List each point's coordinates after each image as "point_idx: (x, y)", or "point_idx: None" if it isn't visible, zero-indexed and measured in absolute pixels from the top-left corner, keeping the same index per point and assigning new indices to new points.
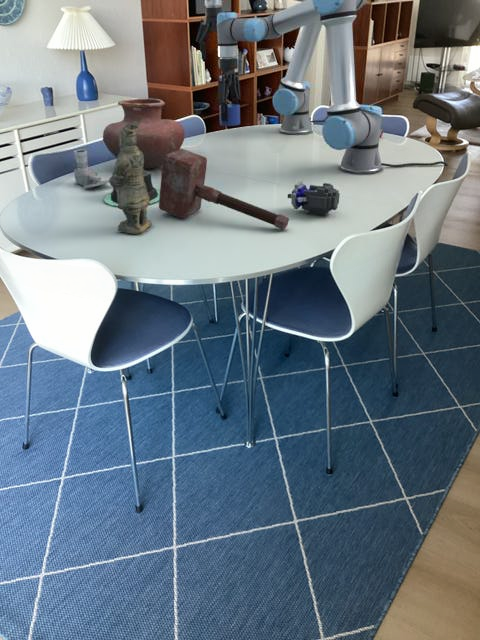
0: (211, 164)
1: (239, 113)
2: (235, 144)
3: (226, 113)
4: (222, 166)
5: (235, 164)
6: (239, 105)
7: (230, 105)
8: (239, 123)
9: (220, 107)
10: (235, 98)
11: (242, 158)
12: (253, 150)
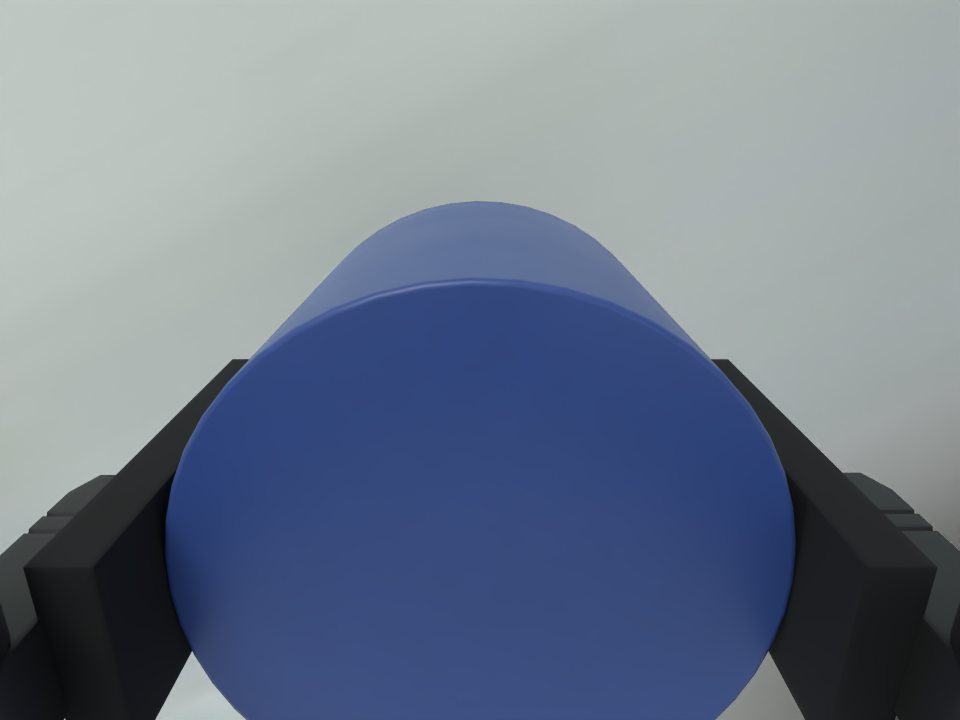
0: (851, 288)
1: (442, 237)
2: (62, 427)
3: (793, 440)
4: (903, 150)
5: (800, 52)
6: (348, 315)
7: (452, 572)
8: (465, 203)
9: (714, 702)
10: (7, 691)
11: (543, 96)
12: (180, 138)
